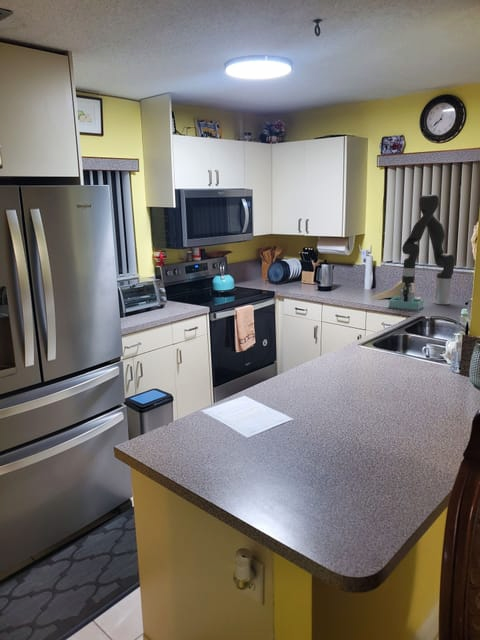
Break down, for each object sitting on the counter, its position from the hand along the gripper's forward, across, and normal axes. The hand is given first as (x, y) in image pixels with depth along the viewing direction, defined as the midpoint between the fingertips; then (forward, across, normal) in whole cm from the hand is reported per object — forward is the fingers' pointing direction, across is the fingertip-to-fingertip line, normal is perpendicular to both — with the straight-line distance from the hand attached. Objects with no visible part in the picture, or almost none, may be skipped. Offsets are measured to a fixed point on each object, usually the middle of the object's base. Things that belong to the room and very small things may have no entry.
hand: (406, 301), depth 314 cm
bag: (+5, -30, -15) cm, 34 cm away
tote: (+4, 0, 0) cm, 4 cm away
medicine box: (+2, 0, 0) cm, 2 cm away
